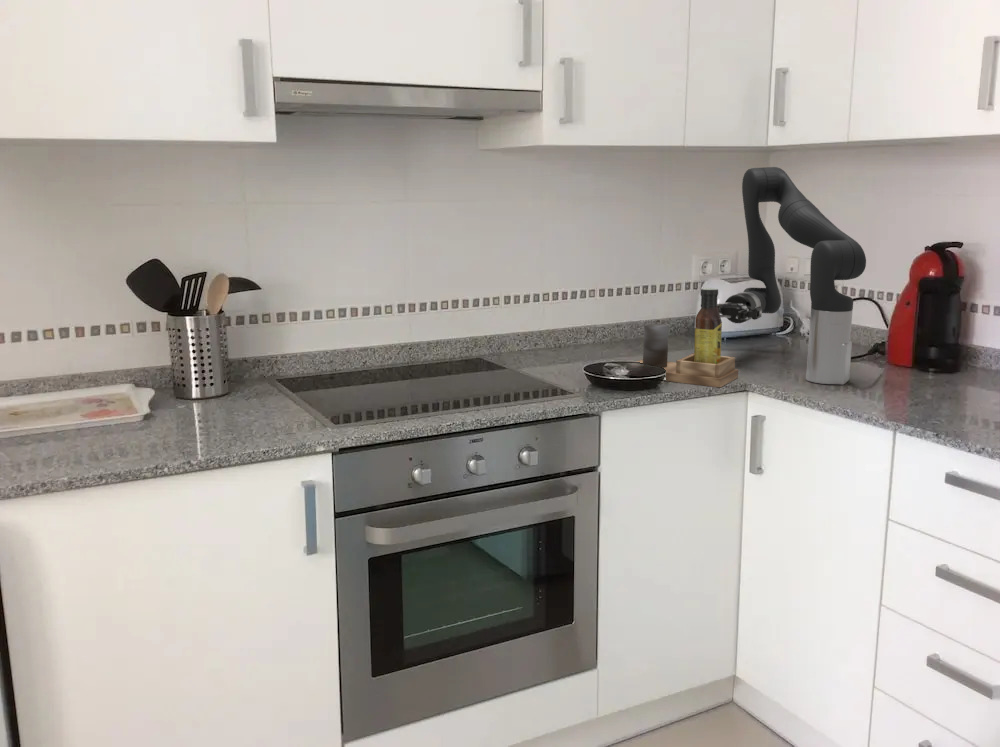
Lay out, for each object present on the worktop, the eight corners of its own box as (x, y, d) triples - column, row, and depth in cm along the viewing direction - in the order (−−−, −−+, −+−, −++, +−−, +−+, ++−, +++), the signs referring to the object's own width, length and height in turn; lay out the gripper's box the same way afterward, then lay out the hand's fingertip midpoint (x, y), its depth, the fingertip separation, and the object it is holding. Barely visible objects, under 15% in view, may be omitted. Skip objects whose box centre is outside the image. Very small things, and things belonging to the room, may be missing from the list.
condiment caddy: (738, 377, 216) (740, 328, 214) (720, 387, 206) (723, 336, 203) (642, 366, 229) (644, 320, 227) (621, 375, 219) (622, 327, 216)
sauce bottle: (722, 374, 210) (726, 290, 206) (695, 374, 211) (699, 290, 207) (716, 368, 217) (720, 287, 213) (690, 368, 217) (694, 287, 213)
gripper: (716, 291, 236) (695, 297, 223) (770, 294, 229) (751, 301, 215) (715, 319, 238) (694, 327, 224) (768, 323, 230) (750, 332, 217)
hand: (722, 314), depth 220 cm, fingers open, 8 cm apart
